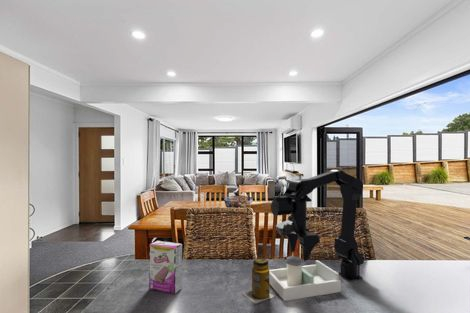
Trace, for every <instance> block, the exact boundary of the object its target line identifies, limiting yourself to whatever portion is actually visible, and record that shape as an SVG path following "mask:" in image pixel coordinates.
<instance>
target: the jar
mask: <svg viewBox="0 0 470 313" xmlns="http://www.w3.org/2000/svg"><path fill="white" fill-rule="evenodd" d="M285 262H286V268H287V285H288V286H295V285H302V266H303V258H301V257H300V256H291V255H290V256H287V257H286V261H285Z"/></svg>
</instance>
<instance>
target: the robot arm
mask: <svg viewBox="0 0 470 313" xmlns="http://www.w3.org/2000/svg"><path fill="white" fill-rule="evenodd" d="M331 183H335V184H336V185H337V186H339V191H340V195H341V196H342V199H343V201H342V203H343V204H342V212H341V213H342V214H341V216H342V217H341V227H340V228H341V229H340V234H339V236H338V237H335V238H334V245H333V248H334V251H335V253H336V256H337V258H338V259H340V271H339V272H338V274H339V276H342V277H344V279H346V280H348V281H355V280H361V279H363V276H361V275H360V271H361V270H360V266H362V265H364V260H365V258H364V257H363V256H362V254H361V253H360V252H359V245H358V243H357V240H356V238H355V230H356V229H355V228H356V218H357V217H356V215H357V204H358V203H357V202H358V200H359V198H360V197H361V196H362V194H363V188H364V183H363V181H362V180H361V179H360V178H357V177H354V176H352V175H351V174H349V173H347V172H345V171H343V170H342V169H331V170H330V171H327V172H324V173H321V174H317V175H315V176H312V177H309V178H299V179H298V178H297V179H292V180H290V181H289V183H288V185H287V189H285V191H284V193H283V195H282V196H276V195H275V196H273V200H272V201H271V204H270V211H271V213H272V215H273V216H274V217H275V216H276V217H277V216H288V217H287V220H284V221H282V222H280V223H277V224H276V225H275V228H276V230H277V234H278V235H280V236H281V237H286V239H287V241H288V245H289V248H290V251H291V253H294V252H295V250H296V246H297V242H298V243H299V245H300V246H301V250H302V257H303V258H302V260H303V261H304V262H306V261H308V260H309V257H310V255H311V254H312V252H313V250H314V248H315V247H316V246H317V245H318V244H320V243H321V240H320V239H321V238H320V236H319V235H318V234H317V233H314V232H312V231H311V232H310V228H308V227H307V221H309V220H310V217H309V216H307V214H308V212H307V207H308V206H307V203H308V202H309V203H310V202H312V199H311V198H310V197H309V194H311V193H313V192H314V190H316V189H318V188H320V187H323V186H326V185H328V184H331Z"/></svg>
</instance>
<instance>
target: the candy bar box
mask: <svg viewBox="0 0 470 313" xmlns="http://www.w3.org/2000/svg"><path fill="white" fill-rule="evenodd" d="M148 264H149V268H148V269H149V273H148V274H149V278H148V286H149V287H148V289H149V290H152V291H158V292H163V293H166V294H173V295H176V294H177V293H178V292H180V291H181V289H183V244H182V243H179V242H177V243H176V242H171V241H162V240H156V241H154V242H151V243H150V244H149V263H148Z"/></svg>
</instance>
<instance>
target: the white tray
mask: <svg viewBox="0 0 470 313" xmlns="http://www.w3.org/2000/svg"><path fill="white" fill-rule="evenodd" d="M302 268H303V269H305V270H306V271H307V272H309V273H310V274H311V275H313V276H314V283H309V284H302V285H295V286H288V285H287V267H282V268H276V269H275V268H274V269H269V272H270V273H269V285H270V286H271V287H272V288H273V290H274V291H275V292H276V293H277V295H279V297H280V298H281V299H282V300H283V301H284V302H286V301H291V300H296V299H297V300H298V299H299V300H300V299H304V298H311V297H317V296H324V295H330V294H335V293H341V292H342V286H341V285H342V283H341V279H340V274H339V272H337V271H336V270H333V268H331V267H329V266H327V265H326V264H325V263H323V262H321V261H320V260H315V263H314V264H309V265H302Z"/></svg>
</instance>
